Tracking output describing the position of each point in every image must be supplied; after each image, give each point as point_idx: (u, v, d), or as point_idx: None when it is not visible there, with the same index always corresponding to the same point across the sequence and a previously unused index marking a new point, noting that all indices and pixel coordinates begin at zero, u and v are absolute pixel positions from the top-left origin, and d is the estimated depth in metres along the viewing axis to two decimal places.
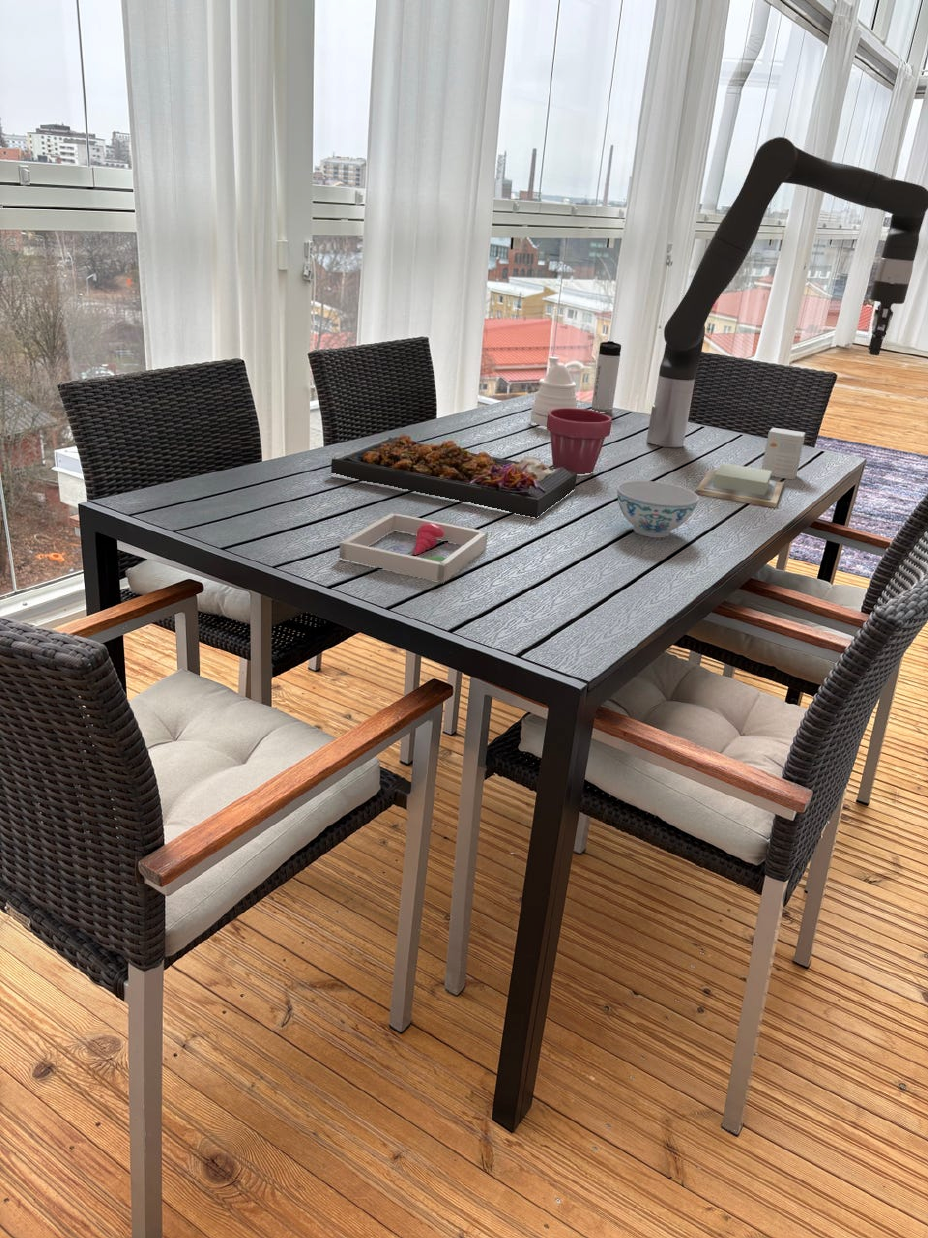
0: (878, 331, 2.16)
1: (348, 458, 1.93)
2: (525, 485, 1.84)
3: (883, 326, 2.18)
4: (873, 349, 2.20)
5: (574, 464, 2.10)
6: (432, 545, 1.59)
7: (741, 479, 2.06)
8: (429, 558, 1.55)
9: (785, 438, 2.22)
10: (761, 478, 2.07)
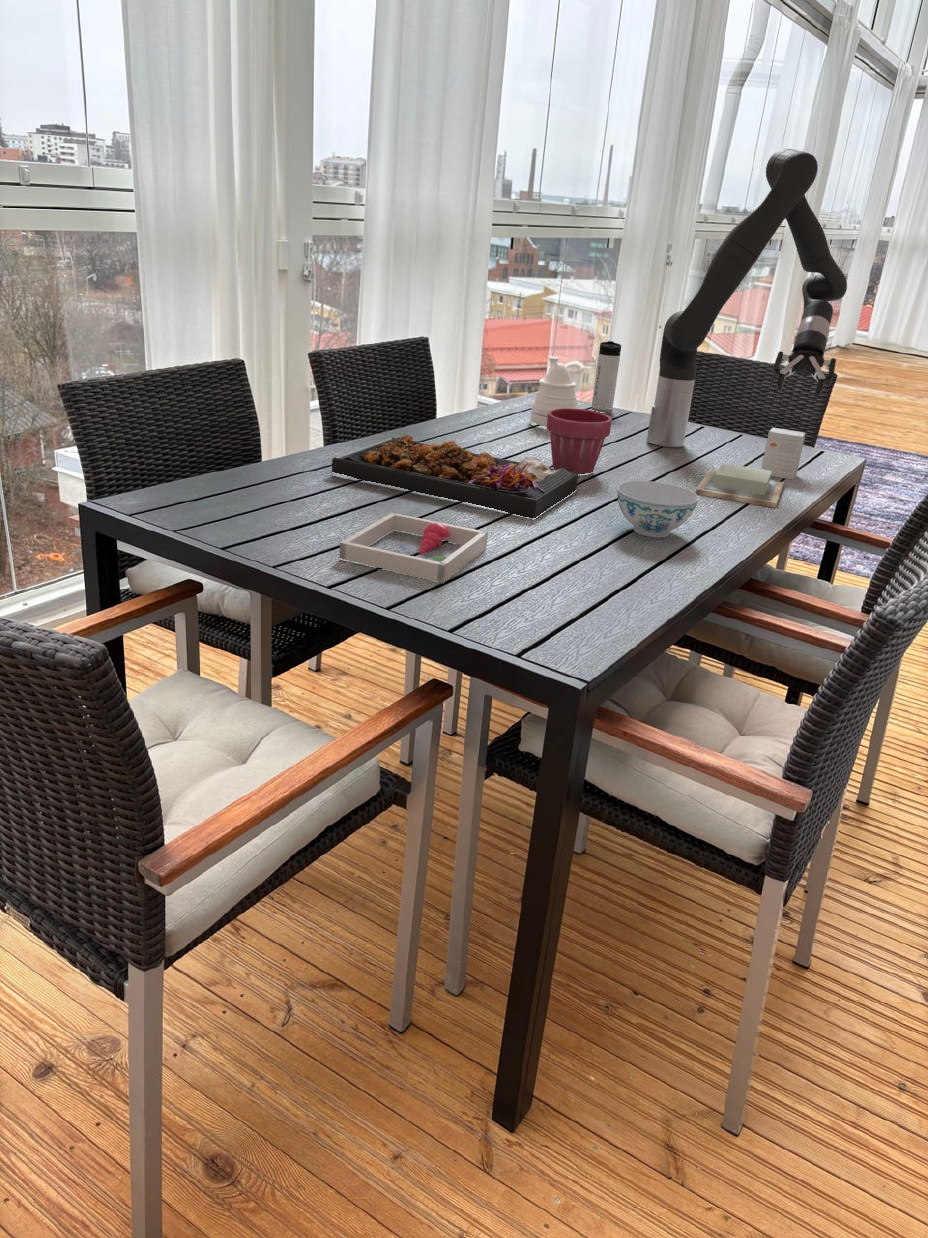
0: None
1: (349, 457, 1.94)
2: (524, 486, 1.84)
3: None
4: None
5: (574, 464, 2.10)
6: (438, 545, 1.60)
7: (741, 479, 2.06)
8: (432, 558, 1.56)
9: (785, 438, 2.22)
10: (761, 478, 2.07)
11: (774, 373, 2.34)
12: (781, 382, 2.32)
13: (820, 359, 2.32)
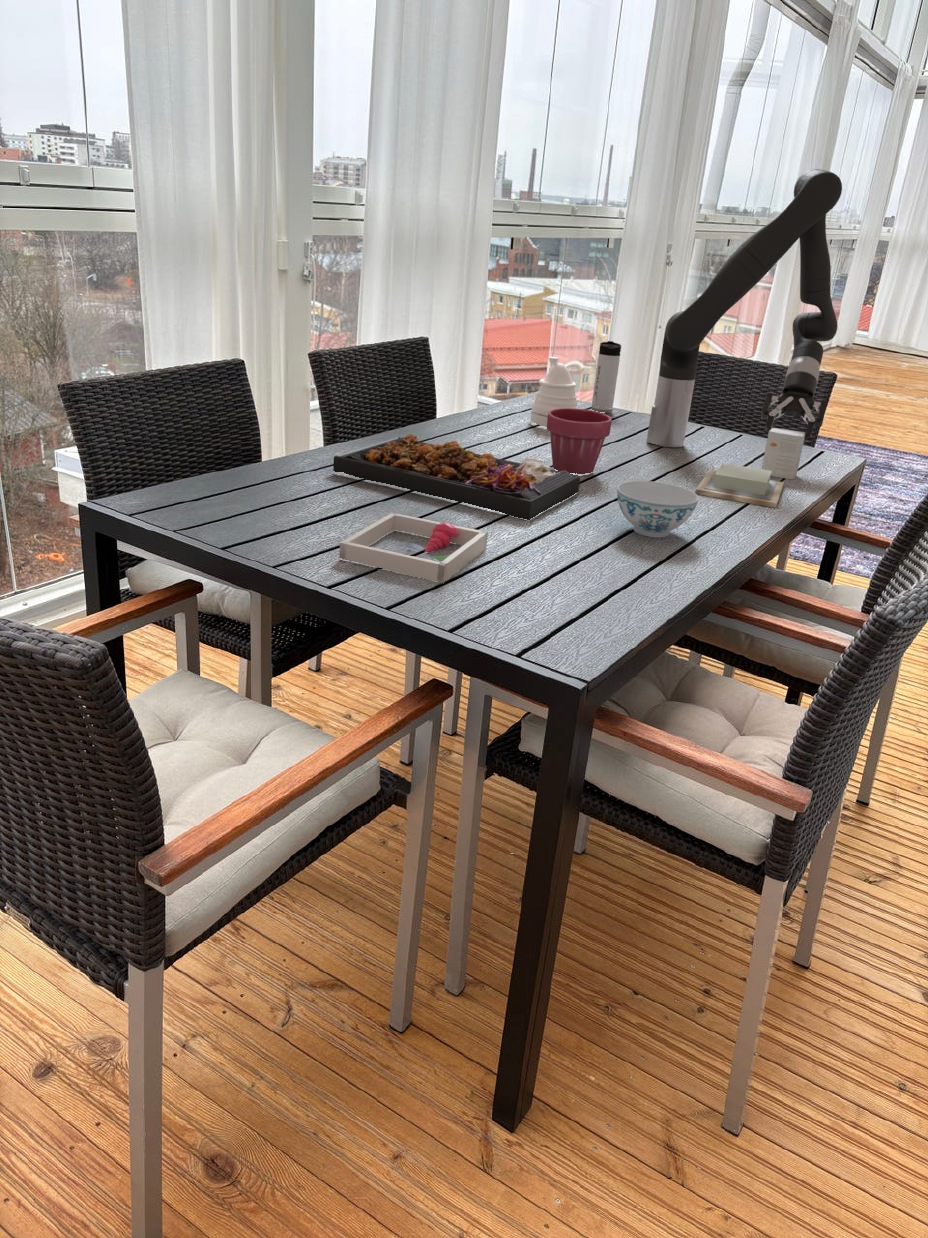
0: None
1: (350, 456, 1.95)
2: (521, 487, 1.83)
3: None
4: None
5: (574, 464, 2.10)
6: (445, 544, 1.60)
7: (741, 479, 2.06)
8: (437, 557, 1.56)
9: (785, 437, 2.22)
10: (761, 478, 2.07)
11: (763, 415, 2.30)
12: (770, 424, 2.27)
13: (810, 401, 2.28)
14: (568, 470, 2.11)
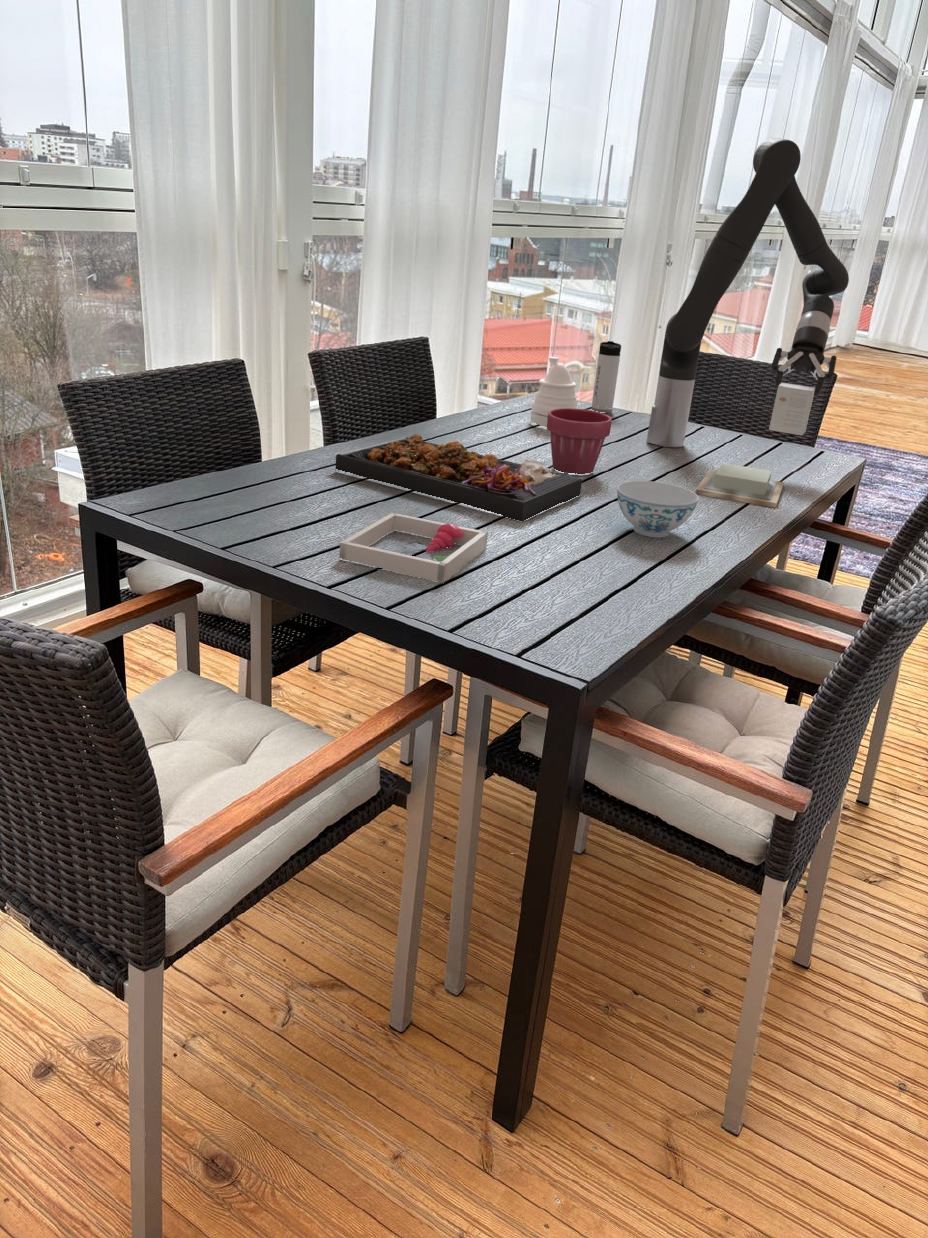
0: None
1: (351, 454, 1.96)
2: (516, 488, 1.82)
3: None
4: None
5: (574, 464, 2.10)
6: (448, 545, 1.60)
7: (741, 479, 2.06)
8: (436, 557, 1.56)
9: (795, 392, 2.18)
10: (761, 478, 2.07)
11: (772, 370, 2.26)
12: (779, 380, 2.23)
13: (820, 356, 2.24)
14: (568, 470, 2.11)
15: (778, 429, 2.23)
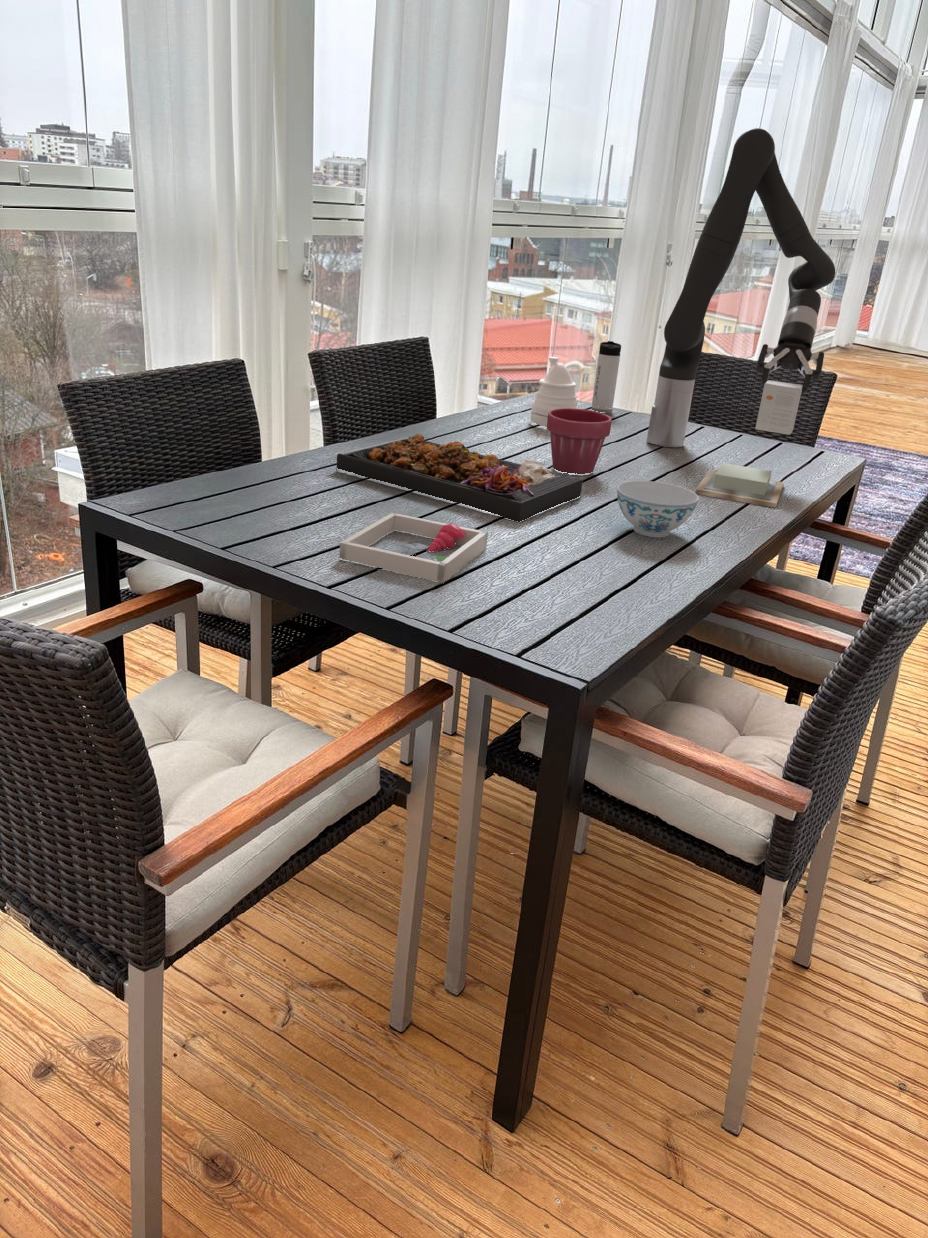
0: None
1: (352, 454, 1.97)
2: (514, 488, 1.82)
3: None
4: None
5: (574, 464, 2.10)
6: (449, 546, 1.60)
7: (741, 479, 2.06)
8: (436, 557, 1.56)
9: (782, 390, 2.11)
10: (761, 478, 2.07)
11: (758, 367, 2.18)
12: (766, 377, 2.16)
13: (807, 353, 2.16)
14: (568, 470, 2.11)
15: (765, 428, 2.15)
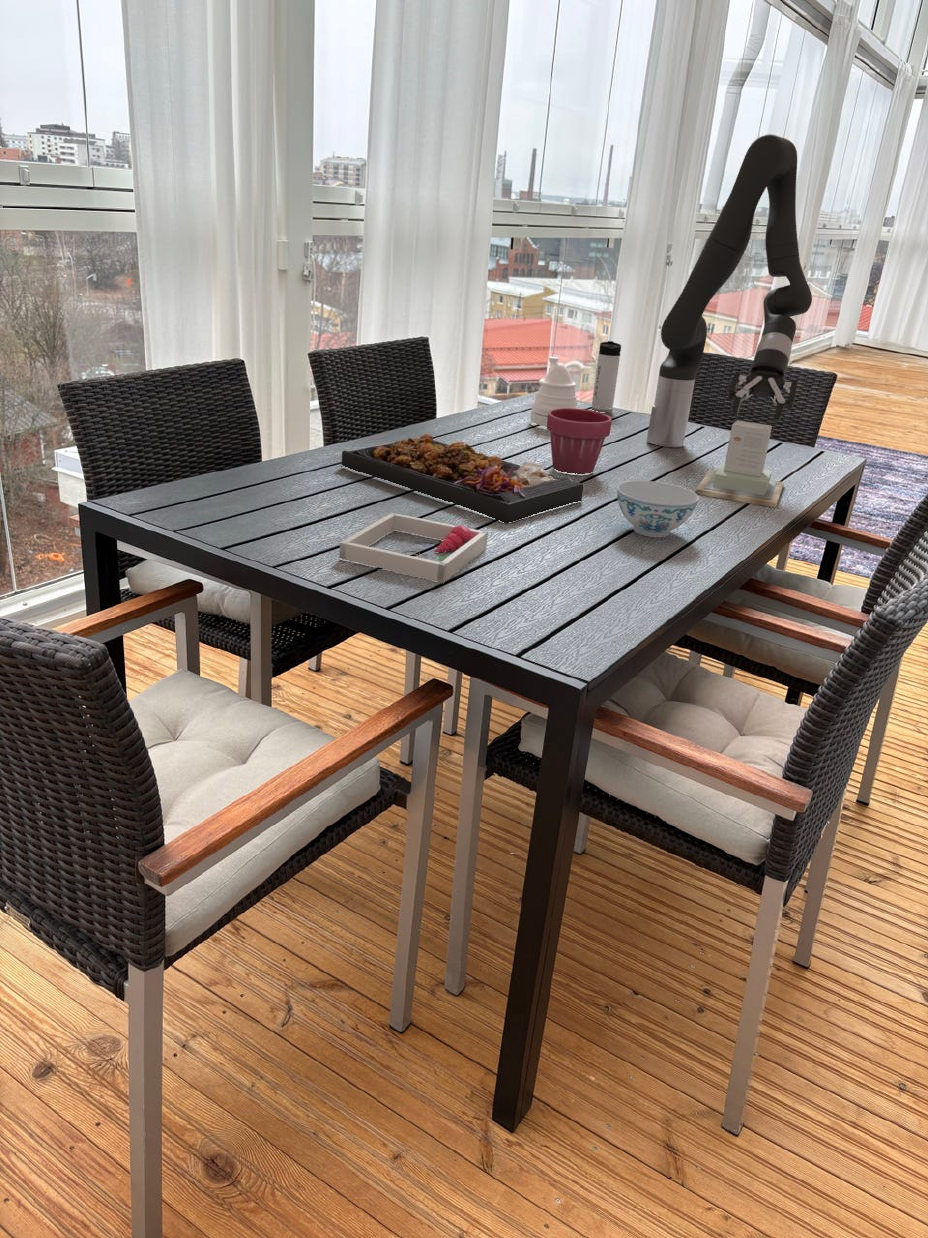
0: None
1: (356, 451, 1.99)
2: (506, 490, 1.80)
3: None
4: None
5: (574, 464, 2.10)
6: (458, 547, 1.60)
7: (741, 479, 2.06)
8: (441, 557, 1.56)
9: (750, 431, 2.05)
10: (761, 478, 2.07)
11: (730, 396, 2.12)
12: (737, 406, 2.10)
13: (780, 381, 2.10)
14: (568, 470, 2.11)
15: (733, 470, 2.10)
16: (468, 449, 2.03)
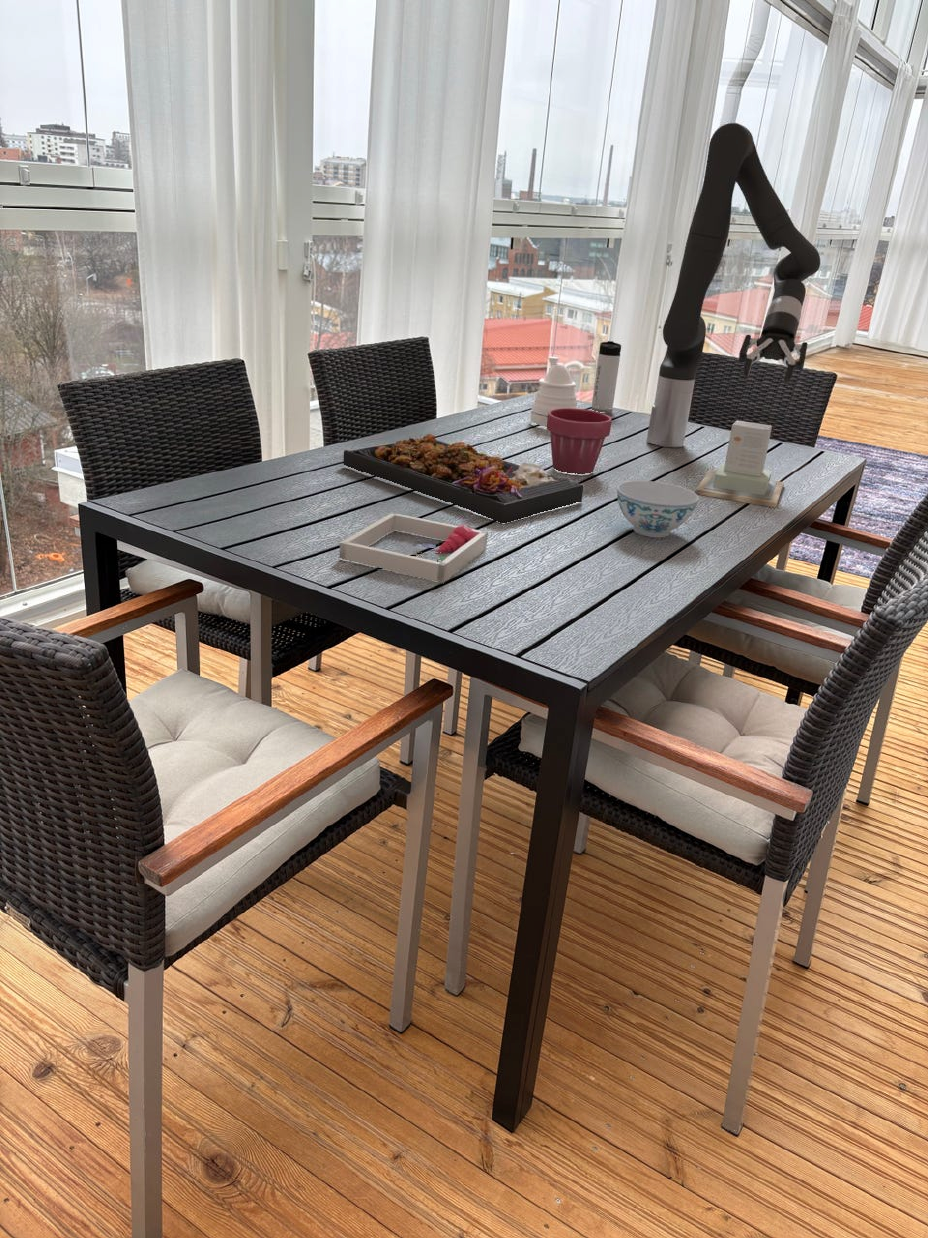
0: None
1: (358, 451, 2.00)
2: (503, 490, 1.80)
3: None
4: None
5: (574, 464, 2.10)
6: (460, 547, 1.59)
7: (741, 479, 2.06)
8: (442, 557, 1.56)
9: (750, 431, 2.05)
10: (761, 478, 2.07)
11: (741, 358, 2.16)
12: (748, 368, 2.13)
13: (790, 343, 2.13)
14: (568, 470, 2.11)
15: (733, 470, 2.10)
16: (470, 449, 2.03)
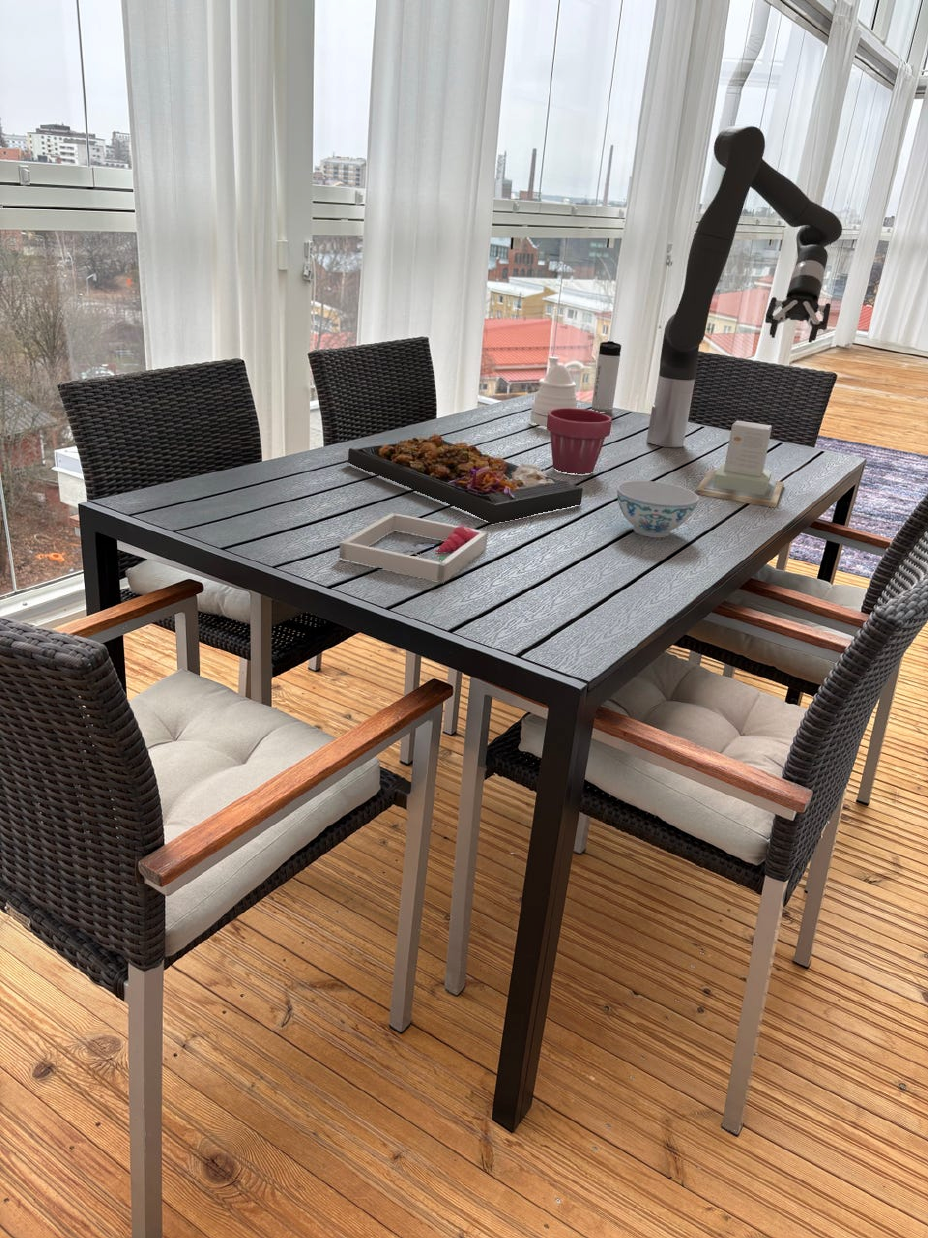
0: None
1: (362, 449, 2.01)
2: (497, 491, 1.79)
3: None
4: None
5: (574, 464, 2.10)
6: None
7: (741, 479, 2.06)
8: (441, 558, 1.56)
9: (750, 431, 2.05)
10: (761, 478, 2.07)
11: (767, 319, 2.28)
12: (774, 328, 2.26)
13: (814, 304, 2.26)
14: (568, 470, 2.11)
15: (733, 470, 2.10)
16: (474, 450, 2.03)
